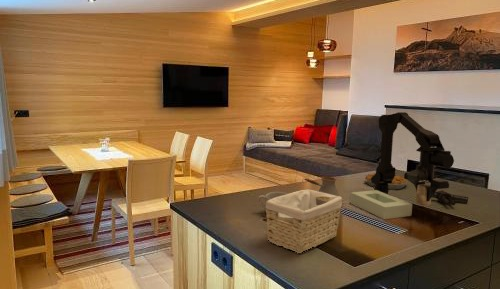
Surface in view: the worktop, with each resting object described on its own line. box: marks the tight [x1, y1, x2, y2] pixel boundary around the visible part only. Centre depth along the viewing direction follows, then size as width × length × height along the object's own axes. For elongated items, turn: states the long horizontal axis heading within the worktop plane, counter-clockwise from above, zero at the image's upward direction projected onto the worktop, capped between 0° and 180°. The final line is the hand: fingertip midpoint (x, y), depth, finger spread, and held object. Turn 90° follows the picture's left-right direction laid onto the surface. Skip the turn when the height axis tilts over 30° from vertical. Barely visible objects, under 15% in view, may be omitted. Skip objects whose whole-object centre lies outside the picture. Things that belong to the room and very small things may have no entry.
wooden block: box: [415, 183, 432, 207], centre depth 154 cm, size 4×4×8 cm
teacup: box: [257, 191, 289, 210], centre depth 150 cm, size 14×11×8 cm
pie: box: [364, 172, 408, 190], centre depth 200 cm, size 22×22×5 cm
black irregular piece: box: [431, 189, 469, 206], centre depth 166 cm, size 5×20×15 cm
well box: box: [350, 189, 413, 220], centre depth 158 cm, size 22×14×5 cm, turn 21°
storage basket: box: [265, 188, 343, 253], centre depth 124 cm, size 24×16×15 cm
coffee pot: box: [301, 176, 340, 205], centre depth 156 cm, size 21×12×15 cm, turn 128°
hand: (423, 199), depth 155 cm, fingers closed on wooden block, 4 cm apart
